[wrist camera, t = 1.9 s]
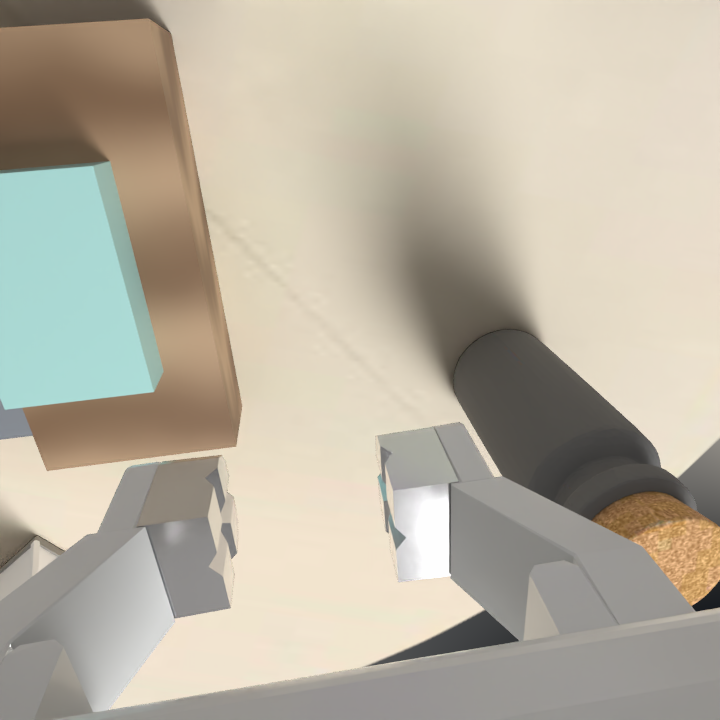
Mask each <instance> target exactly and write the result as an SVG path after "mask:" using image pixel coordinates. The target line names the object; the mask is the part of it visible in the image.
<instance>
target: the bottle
mask: <svg viewBox="0 0 720 720" xmlns="http://www.w3.org/2000/svg"><path fill="white" fill-rule="evenodd" d="M453 383H454V390H455V394H456V396H457V399H458V401H459V403H460V405H461V406H462V408H463V410H464V411H465V413H466V415H467V417H468V418H469V420H470V422H471V424H472V425H473V427H474V429H475V431H476V432H477V434H478V436H479V437H480V439H481V441H482V442H483V444H484V446H485V447H486V449H487V451H488V453H489V454H490V456H491V458H492V459H493V461H494V463H495V464H496V466H497V468H498V469H499V471H500V473H501V474H502V476H503V477H505V478H507V479H509V480H511V481H513V482H515V483H517V484H519V485H521V486H523V487H525V488H527V489H529V490H531V491H533V492H535V493H537V494H539V495H541V496H543V497H545V498H547V499H549V500H551V501H553V502H555V503H557V504H559V505H561V506H563V507H565V508H567V509H569V510H571V511H573V512H575V513H577V514H579V515H581V516H583V517H585V518H587V519H589V520H591V521H593V522H595V523H597V524H599V525H601V526H603V527H605V528H607V529H609V530H611V531H613V532H614V533H616V534H618V535H620V536H622V537H624V538H626V539H628V540H630V541H632V542H634V543H636V544H638V545H640V546H642V547H643V548H644V549H645V550H646V552H647V553H648V554H649V555H650V556H651V558H652V559H653V560H654V561H655V563H656V564H657V565H658V566H659V567H660V569H661V570H662V571H663V572H664V574H665V575H666V576H667V577H668V578H669V580H670V581H671V582H672V583H673V585H674V586H675V587H676V588H677V589H678V591H679V592H680V593H681V594H682V596H683V597H684V598H685V599H686V601H687V602H688V603H689V604H690V605H691V606H692V605H693V604H695V603H697V602H698V601H699V600H700V599H702V598H703V597H704V596H705V595H707V594H708V593H709V592H710V591H711V589H712V588H713V587H714V586H715V585H716V584H717V582H718V581H719V580H720V527H719V526H718V525H717V524H715V523H714V522H712V521H710V520H709V519H707V518H706V517H704V516H703V515H701V514H700V513H698V512H697V507H696V503H695V500H694V498H693V496H692V495H691V493H690V492H689V490H688V489H687V488H686V487H685V486H684V485H683V484H682V483H681V482H680V481H679V480H678V479H677V478H676V477H675V476H673V475H672V474H671V473H669V472H668V471H666V470H664V469H662V468H661V465H660V459H659V456H658V453H657V451H656V449H655V447H654V446H653V444H652V443H651V442H650V441H649V440H648V439H647V438H646V437H645V436H644V435H643V434H642V433H641V432H640V431H639V430H638V429H637V428H636V427H635V426H634V425H633V424H632V423H631V422H630V421H628V420H627V419H626V418H625V417H624V416H623V415H622V414H621V413H620V412H619V411H617V410H616V409H615V408H614V407H613V406H612V405H611V404H610V403H609V402H608V401H607V400H605V399H604V398H603V397H602V396H601V395H600V394H599V393H598V392H597V391H596V390H594V389H593V388H592V387H591V386H590V385H589V384H588V383H587V382H586V381H584V380H583V379H582V378H581V377H580V376H579V375H578V374H577V373H576V372H574V371H573V370H572V369H571V368H570V367H569V366H568V365H567V364H565V363H564V362H563V361H562V360H561V359H560V358H559V357H558V356H556V355H555V354H554V353H553V352H552V351H551V350H550V349H549V348H548V347H546V346H545V345H544V344H543V343H542V342H540V341H539V340H538V339H536V338H535V337H534V336H532V335H530V334H528V333H526V332H523V331H519V330H509V329H507V330H499V331H495V332H492V333H489V334H487V335H485V336H483V337H481V338H479V339H478V340H476V341H475V342H474V343H473V344H471V345H470V346H469V347H468V348H467V349H466V351H465V352H464V353H463V354H462V356H461V357H460V359H459V361H458V363H457V366H456V368H455V372H454V379H453Z"/></svg>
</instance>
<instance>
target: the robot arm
mask: <svg viewBox="0 0 720 720" xmlns="http://www.w3.org/2000/svg"><path fill="white" fill-rule="evenodd" d="M375 445H376V457H377V461H378V465H379V469H380V475H379V476H378V486H379V496H380V504H381V511H382V516H383V521H384V525H385V530H386V532H388V533H389V538H390V551H391V555H392V559H393V563H394V567H395V571H396V575H397V579H398V582H404V581H412V580H420V579H428V578H436V577H444V576H451V579H452V580H453V581H454V582H455V583H456V584H458V585H459V586H460V587H461V588H462V589H463V590H464V591H465V592H466V593H468V594H469V595H470V596H471V597H472V598H473V599H474V600H475V601H476V602H477V603H479V604H480V605H481V606H482V607H483V608H484V609H485V610H486V611H488V612H489V613H490V614H491V615H492V616H493V617H494V618H495V619H496V620H497V621H498V622H500V623H501V624H502V625H503V626H504V627H505V628H506V629H507V630H508V631H510V632H511V633H512V634H513V635H514V636H515V637H516V638H517V639H519V642H513V643H507V644H501V645H495V646H489V647H484V648H477V649H471V650H465V651H459V652H453V653H447V654H441V655H435V656H429V657H423V658H417V659H411V660H404V661H398V662H392V663H387V664H381V665H375V666H368V667H362V668H357V669H351V670H345V671H339V672H333V673H327V674H321V675H315V676H309V677H303V678H297V679H291V680H285V681H279V682H273V683H267V684H261V685H255V686H249V687H243V688H237V689H231V690H225V691H219V692H214V693H208V694H202V695H196V696H190V697H184V698H178V699H172V700H166V701H160V702H154V703H148V704H142V705H136V706H130V707H124V708H118V709H112V710H109V709H110V708H111V706H112V705H113V704H114V702H115V701H116V700H117V698H118V697H119V696H120V694H121V693H122V692H123V690H124V689H125V688H126V686H127V685H128V684H129V682H130V681H131V680H132V678H133V677H134V676H135V674H136V673H137V672H138V670H139V669H140V668H141V666H142V665H143V664H144V662H145V661H146V660H147V658H148V657H149V656H150V654H151V653H152V652H153V650H154V649H155V648H156V646H157V645H158V644H159V642H160V641H161V640H162V638H163V637H164V636H165V634H166V633H167V632H168V630H169V629H170V628H171V626H172V625H173V624H174V623H175V619H174V618H180V617H185V616H191V615H196V614H201V613H207V612H212V611H218V610H223V609H229V608H231V601H232V593H233V584H234V576H235V573H234V569H233V564H232V560H231V559H232V558H233V557H234V556H235V555H236V554H237V548H238V519H237V511H236V505H235V501H234V497H233V496H232V495H231V494H229V493H228V492H227V487H228V480H229V473H228V469H227V465H226V461H225V459H224V457H223V456H222V455H218V456H209V457H200V458H191V459H182V460H173V461H164V462H162V463H161V462H154V463H147V464H140V465H133V466H130V467H129V468H127V469H126V471H125V473H124V475H123V477H122V479H121V481H120V484H119V486H118V488H117V490H116V492H115V495H114V497H113V499H112V501H111V503H110V506H109V508H108V510H107V512H106V514H105V517H104V519H103V521H102V523H101V526H100V528H99V530H98V532H97V533H95V534H89V535H86V536H85V537H83V538H82V539H81V540H80V541H78V542H77V543H76V544H74V545H73V546H72V547H70V548H69V549H68V550H66V551H65V552H64V553H62V554H61V555H60V556H59V557H57V558H56V559H55V560H53V561H52V562H51V563H49V564H48V565H47V566H45V567H44V568H43V569H42V570H40V571H39V572H38V573H36V574H35V575H34V576H32V577H31V578H30V579H28V580H27V581H26V582H24V583H23V584H22V585H21V586H19V587H18V588H17V589H15V590H14V591H13V592H11V593H10V594H9V595H7V596H6V597H5V598H3V599H2V600H1V601H0V720H720V608H716V609H710V610H704V611H698V612H695V610H694V609H693V608H692V607H691V605H690V604H689V603H688V602H687V601H686V599H685V598H684V597H683V596H682V594H681V593H680V592H679V591H678V589H677V588H676V587H675V586H674V585H673V583H672V582H671V581H670V580H669V578H668V577H667V576H666V575H665V574H664V572H663V571H662V570H661V569H660V567H659V566H658V565H657V564H656V563H655V561H654V560H653V559H652V558H651V556H650V555H649V554H648V553H647V552H646V550H645V549H644V548H643V547H642V546H640V545H638V544H636V543H634V542H632V541H630V540H628V539H626V538H624V537H622V536H620V535H618V534H616V533H614V532H613V531H611V530H609V529H607V528H605V527H603V526H601V525H599V524H597V523H595V522H593V521H591V520H589V519H587V518H585V517H583V516H581V515H579V514H577V513H575V512H573V511H571V510H569V509H567V508H565V507H563V506H561V505H559V504H557V503H555V502H553V501H551V500H549V499H547V498H545V497H543V496H541V495H539V494H537V493H535V492H533V491H531V490H529V489H527V488H525V487H523V486H521V485H519V484H517V483H515V482H513V481H511V480H509V479H507V478H505V477H503V476H502V477H494V476H493V474H492V473H491V471H490V469H489V467H488V466H487V464H486V462H485V461H484V459H483V457H482V455H481V454H480V452H479V450H478V448H477V447H476V445H475V443H474V442H473V440H472V438H471V436H470V435H469V433H468V431H467V429H466V428H465V426H464V424H462V423H460V422H457V423H451V424H446V425H440V426H434V427H430V428H423V429H417V430H410V431H403V432H397V433H390V434H384V435H377V436H375Z"/></svg>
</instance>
